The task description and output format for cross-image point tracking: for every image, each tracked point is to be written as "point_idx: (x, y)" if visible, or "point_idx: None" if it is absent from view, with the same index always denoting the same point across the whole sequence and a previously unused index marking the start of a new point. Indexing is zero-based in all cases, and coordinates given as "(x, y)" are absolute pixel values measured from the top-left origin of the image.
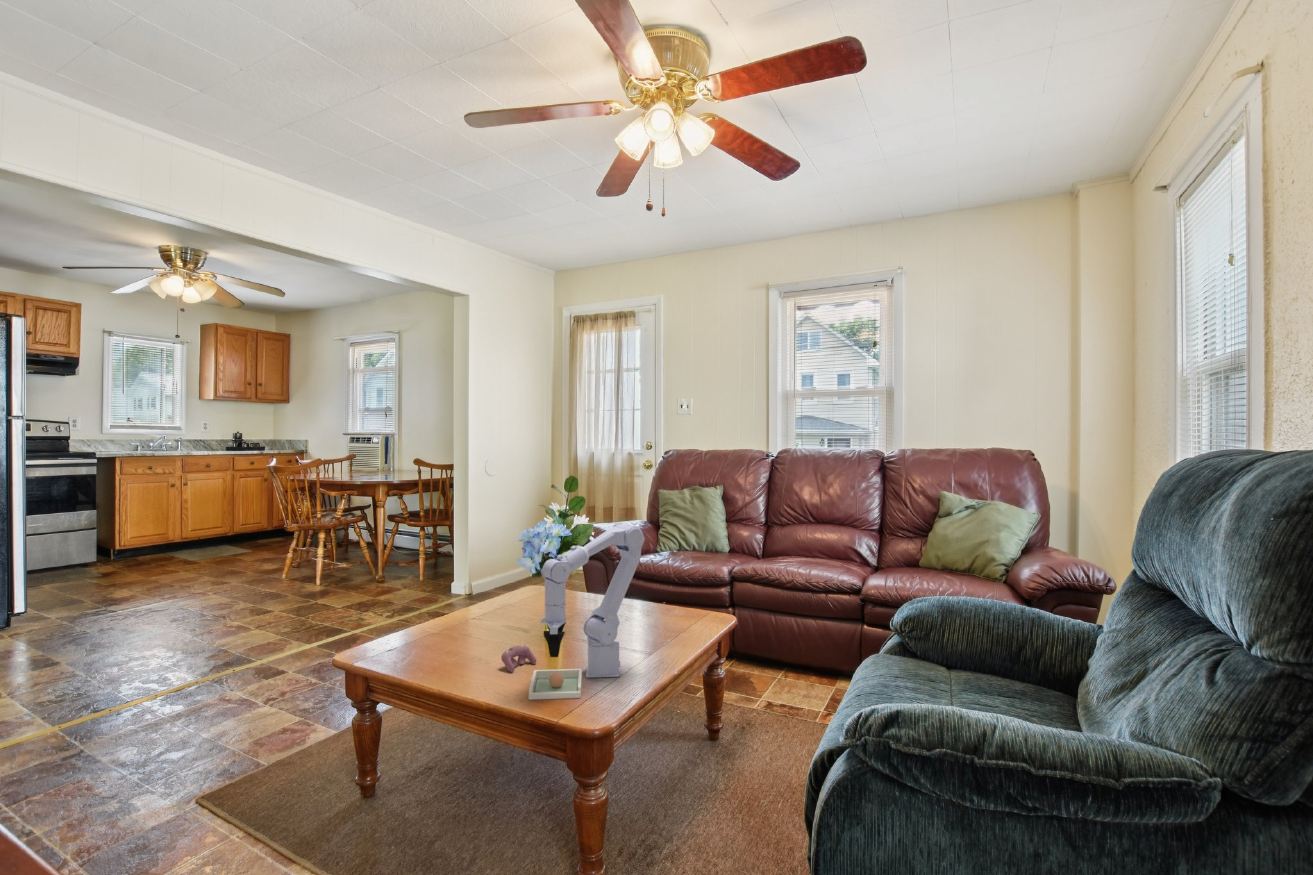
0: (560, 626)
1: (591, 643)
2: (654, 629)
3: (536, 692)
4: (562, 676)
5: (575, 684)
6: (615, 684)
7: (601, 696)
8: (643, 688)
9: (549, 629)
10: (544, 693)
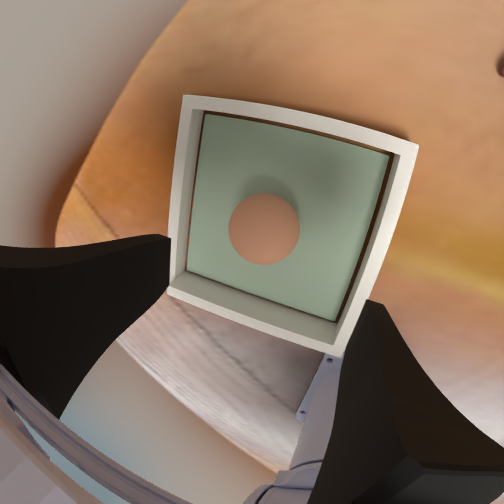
0: (315, 502)
1: (319, 468)
2: (501, 498)
3: (240, 128)
4: (247, 260)
5: (276, 295)
6: (249, 390)
7: (179, 330)
8: (210, 418)
9: (382, 409)
10: (175, 158)
